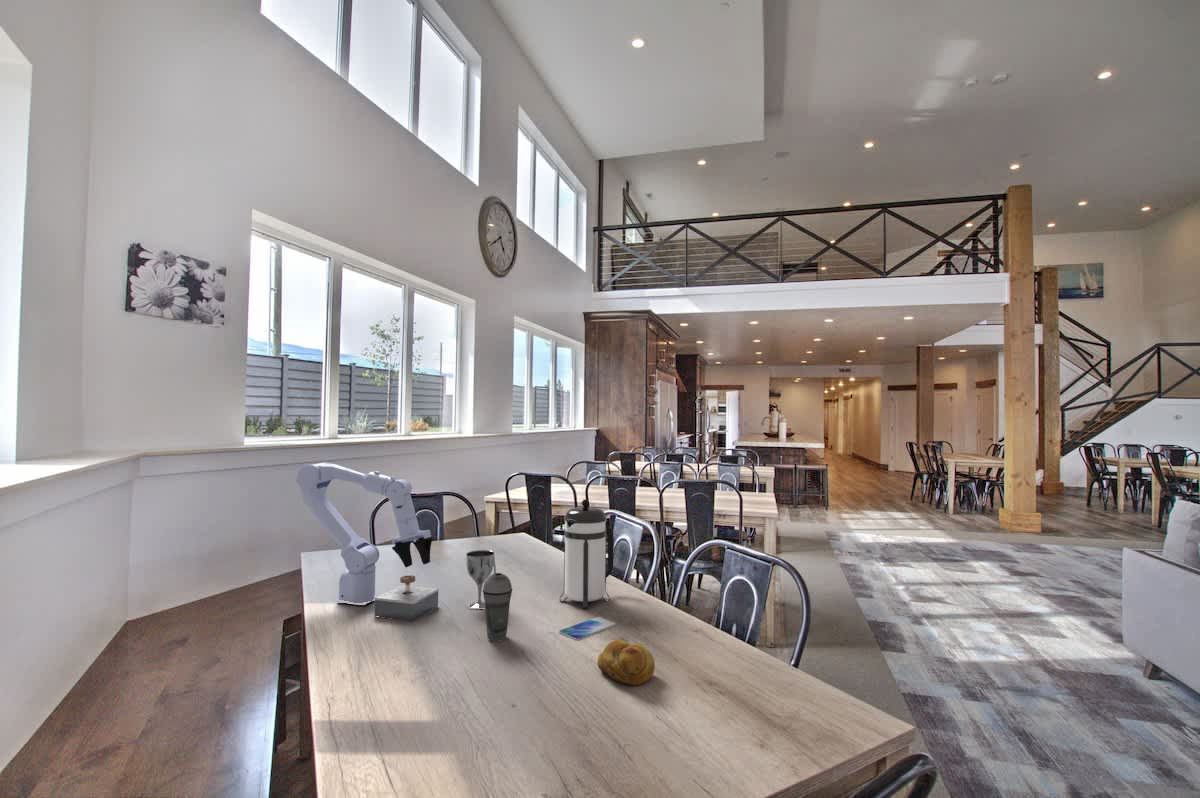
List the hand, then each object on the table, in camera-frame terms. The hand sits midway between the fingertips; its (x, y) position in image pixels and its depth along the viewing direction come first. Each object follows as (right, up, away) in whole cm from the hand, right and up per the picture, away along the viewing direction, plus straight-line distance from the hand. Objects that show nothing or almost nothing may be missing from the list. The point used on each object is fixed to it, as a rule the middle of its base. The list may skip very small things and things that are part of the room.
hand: (417, 564), depth 163 cm
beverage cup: (+28, -10, -26) cm, 40 cm away
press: (0, -11, -7) cm, 13 cm away
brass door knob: (0, -8, -8) cm, 11 cm away
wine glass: (+19, -11, -3) cm, 22 cm away
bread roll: (+59, -10, -46) cm, 75 cm away
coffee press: (+49, -12, +3) cm, 51 cm away
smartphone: (+51, -11, -20) cm, 56 cm away
